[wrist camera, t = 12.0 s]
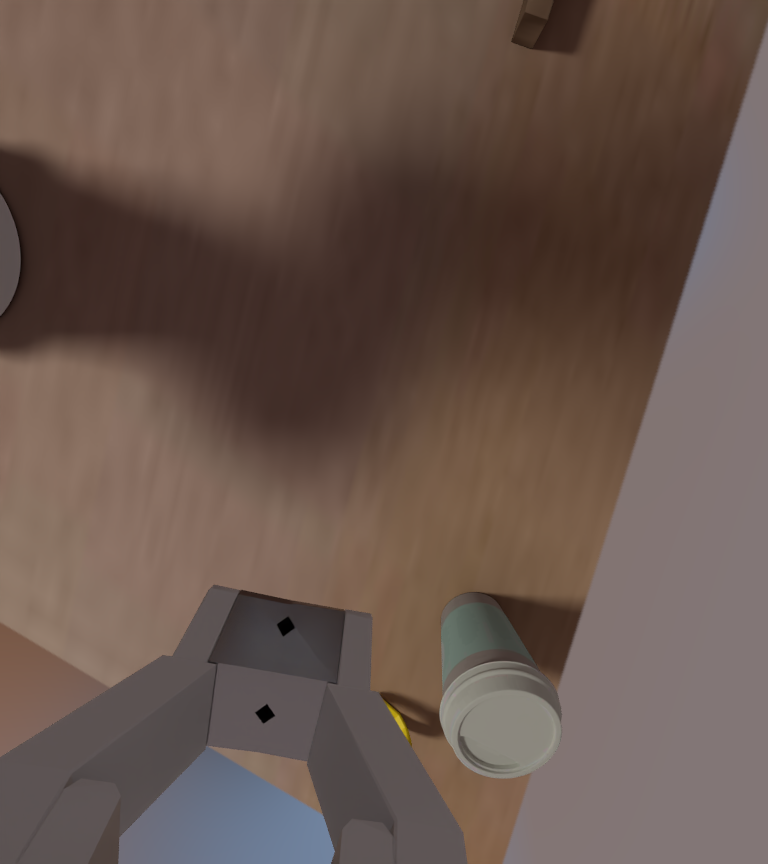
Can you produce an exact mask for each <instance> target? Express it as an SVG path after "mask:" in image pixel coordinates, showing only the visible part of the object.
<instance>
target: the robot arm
mask: <svg viewBox="0 0 768 864" xmlns="http://www.w3.org/2000/svg"><path fill="white" fill-rule="evenodd" d="M20 264H21V255H20V244H19V238H18V234H17V230H16V226H15V223H14V220H13V218H12V215H11V213H10V210H9V208H8V206H7V204H6V202H5V200H4V198H3V197H2V195H1V193H0V316H1V315H2V313H3V312H4V311H5V310H6V308H7V307H8V305H9V303H10V302H11V300H12V298H13V296H14V293H15V290H16V288H17V284H18V280H19V275H20ZM371 647H372V616H371V614H370V613H364V612H358V611H352V610H346V609H345V611H344V609H338V608H333V607H327V606H321V605H316V604H310V603H304V602H299V601H292V600H287V599H283V598H278V597H273V596H268V595H264V594H259V593H254V592H250V591H245V590H237V589H232V588H228V587H223V586H218V585H213V586H212V587H211V588H210V589H209V590H208V592H207V594H206V596H205V597H204V599H203V601H202V603H201V605H200V607H199V608H198V610H197V612H196V614H195V616H194V618H193V619H192V621H191V623H190V625H189V627H188V628H187V630H186V632H185V634H184V636H183V638H182V639H181V641H180V643H179V645H178V647H177V649H176V650H175V652H174V654H173V656H166V655H162V656H161V657H159V658H158V659H156V660H154V661H153V662H151V663H150V664H148V665H146V666H145V667H143V668H142V669H140V670H139V671H137V672H135V673H134V674H132V675H131V676H129V677H127V678H126V679H124V680H123V681H121V682H119V683H118V684H116V685H115V686H113V687H111V688H110V689H108V690H107V691H105V692H103V693H102V694H100V695H99V696H97V697H96V698H94V699H93V700H91V701H89V702H88V703H86V704H84V705H83V706H81V707H80V708H78V709H76V710H75V711H73V712H72V713H70V714H69V715H67V716H65V717H64V718H62V719H60V720H59V721H57V722H56V723H54V724H52V725H51V726H49V727H48V728H46V729H44V730H43V731H42V732H40V733H38V734H36V735H35V736H34V737H32V738H30V739H29V740H27V741H25V742H24V743H22V744H21V745H19V746H17V747H16V748H14V749H13V750H11V751H9V752H8V753H6V754H5V755H3V756H2V757H0V864H118V855H119V837H120V836H121V835H122V834H123V833H124V832H125V831H126V830H127V829H128V828H129V827H130V826H131V825H132V824H133V823H134V822H135V821H136V820H137V819H138V817H140V816H141V814H142V813H143V812H144V811H145V810H146V809H147V808H148V807H149V806H150V805H151V804H152V803H153V802H154V801H155V800H156V799H157V798H158V797H159V796H160V795H161V794H162V793H163V792H164V791H165V790H166V789H167V788H168V787H169V786H170V785H171V784H172V783H173V782H174V781H175V780H176V779H177V777H179V776H180V775H181V774H182V772H184V771H185V770H186V769H187V768H188V767H189V766H190V765H191V763H192V762H193V761H194V760H195V759H196V758H197V757H198V756H199V755H200V754H201V753H202V752H203V751H204V750H205V748H206V746H213V747H221V748H229V749H237V750H245V751H253V752H260V753H265V754H270V755H276V756H281V757H286V758H292V759H297V760H302V761H307V766H308V769H309V772H310V775H311V778H312V781H313V785H314V788H315V791H316V794H317V797H318V800H319V803H320V806H321V809H322V813H323V816H324V819H325V822H326V825H327V828H328V831H329V834H330V837H331V841H332V844H333V847H334V850H335V853H334V856H333V860H332V862H331V864H467V858H466V850H465V843H464V836H463V832H462V830H461V828H460V827H459V825H458V823H457V822H456V820H455V818H454V817H453V815H452V813H451V812H450V810H449V808H448V807H447V805H446V803H445V802H444V800H443V798H442V797H441V795H440V793H439V792H438V790H437V788H436V787H435V785H434V783H433V782H432V780H431V778H430V777H429V775H428V773H427V772H426V770H425V768H424V767H423V765H422V763H421V762H420V760H419V759H418V757H417V755H416V754H415V752H414V750H413V749H412V747H411V745H410V744H409V742H408V740H407V739H406V737H405V735H404V734H403V732H402V730H401V729H400V727H399V725H398V724H397V722H396V720H395V719H394V717H393V715H392V714H391V712H390V710H389V709H388V707H387V705H386V704H385V702H384V700H383V699H382V697H381V695H380V694H379V692H376V691H371V690H370V678H371Z"/></svg>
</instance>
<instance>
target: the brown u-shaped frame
mask: <svg viewBox="0 0 768 864" xmlns="http://www.w3.org/2000/svg"><path fill="white" fill-rule="evenodd" d="M553 1H554V0H524V1H523V4H522V8H521V11H520V14H519V18H518V21H517V24H516V28H515V31H514V35H513V38H512V41H511V42H513V43H516V44H519V45H522V46H525V47H528V48H531V49H532V48H533V46H534V44H535V42H536V40H537V39H538V37H539V35H540V33H541V31H542V29H543V28H544V26H545V24H546V22H547V20H548V17H549V14H550V11H551V8H552V4H553Z"/></svg>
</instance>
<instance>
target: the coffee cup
mask: <svg viewBox="0 0 768 864" xmlns="http://www.w3.org/2000/svg"><path fill="white" fill-rule="evenodd" d="M441 644H442V682H443V698H442V701H441V705H440V722H441V725H442V728H443V731H444V734H445V736H446V739H447V741H448V742H449V744H450V745H451V746H452V748H453V749H454V752H455V754H456V755H457V757H458V758H459V760H460V761H461V762H462V763H463V764H464V765H465V766H466V767H468V768H469V769H471V770H472V771H474V772H476V773H478V774H481V775H484V776H487V777H492V778H514V777H519V776H523V775H526V774H528V773H531V772H533V771H535V770H537V769H538V768H540V767H541V766H543V765H544V764H545V763H546V762H547V761H549V760H550V758H551V757H552V756H553V755H554V753H555V752H556V750H557V748H558V746H559V744H560V740H561V735H562V726H561V715H562V714H561V706H560V703H559V698H558V694H557V692H556V689H555V687H554V686H553V684H552V683H551V682H550V680H549V679H548V678H547V677H546V676H545V675H544V674H542V673H541V672H540V670H539V669H538V667H537V665H536V664H535V662H534V660H533V659H532V657H531V656H530V654H529V652H528V651H527V649H526V647H525V646H524V644H523V643H522V641H521V639H520V638H519V636H518V634H517V633H516V631H515V630H514V628H513V626H512V625H511V623H510V621H509V620H508V618H507V617H506V615H505V614H504V612H503V610H502V609H501V607H500V606H499V604H498V603H497V602H496V601H495V600H494V599H493V598H491V597H490V596H488V595H485V594H482V593H475V592H472V593H465V594H462V595H459V596H457V597H455V598H454V599H452V600H451V601H450V602H449V603H448V604H447V605H446V607H445V608H444V610H443V613H442V616H441Z"/></svg>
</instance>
